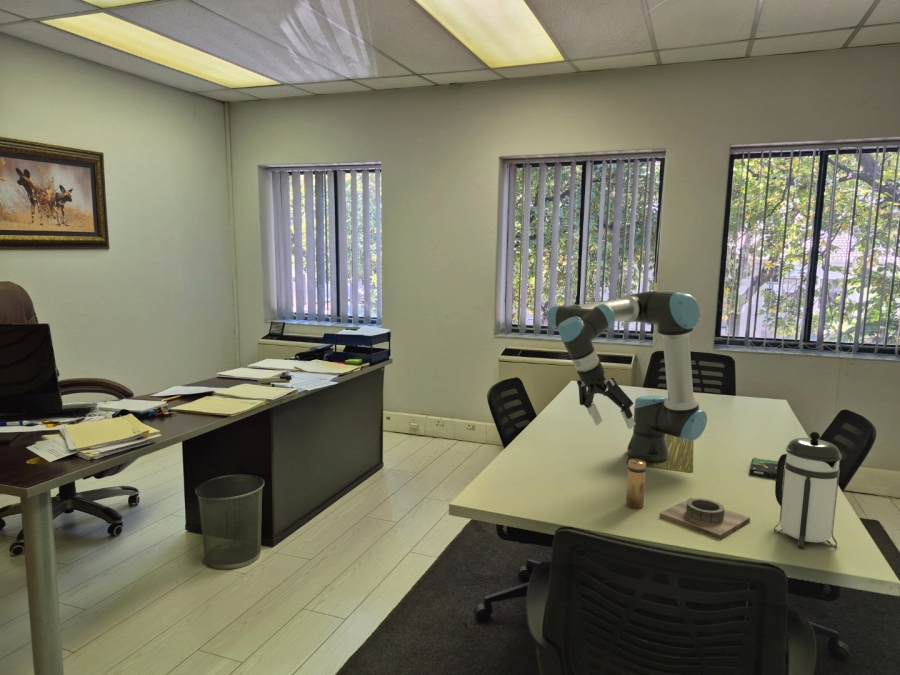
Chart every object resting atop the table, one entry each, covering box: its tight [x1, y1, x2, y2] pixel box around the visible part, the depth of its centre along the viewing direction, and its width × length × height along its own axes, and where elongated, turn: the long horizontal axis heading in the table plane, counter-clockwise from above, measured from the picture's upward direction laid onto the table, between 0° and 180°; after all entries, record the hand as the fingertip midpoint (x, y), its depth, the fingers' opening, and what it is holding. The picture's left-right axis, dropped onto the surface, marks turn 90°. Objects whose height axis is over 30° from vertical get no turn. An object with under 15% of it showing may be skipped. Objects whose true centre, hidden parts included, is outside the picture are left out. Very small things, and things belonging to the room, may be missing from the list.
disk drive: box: [749, 457, 778, 480], centre depth 215 cm, size 10×3×15 cm
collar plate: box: [659, 497, 751, 540], centre depth 174 cm, size 18×18×4 cm
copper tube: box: [625, 458, 647, 510], centre depth 182 cm, size 5×5×14 cm
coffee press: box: [773, 431, 843, 550], centre depth 162 cm, size 17×16×30 cm
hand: (615, 424), depth 186 cm, fingers open, 13 cm apart
